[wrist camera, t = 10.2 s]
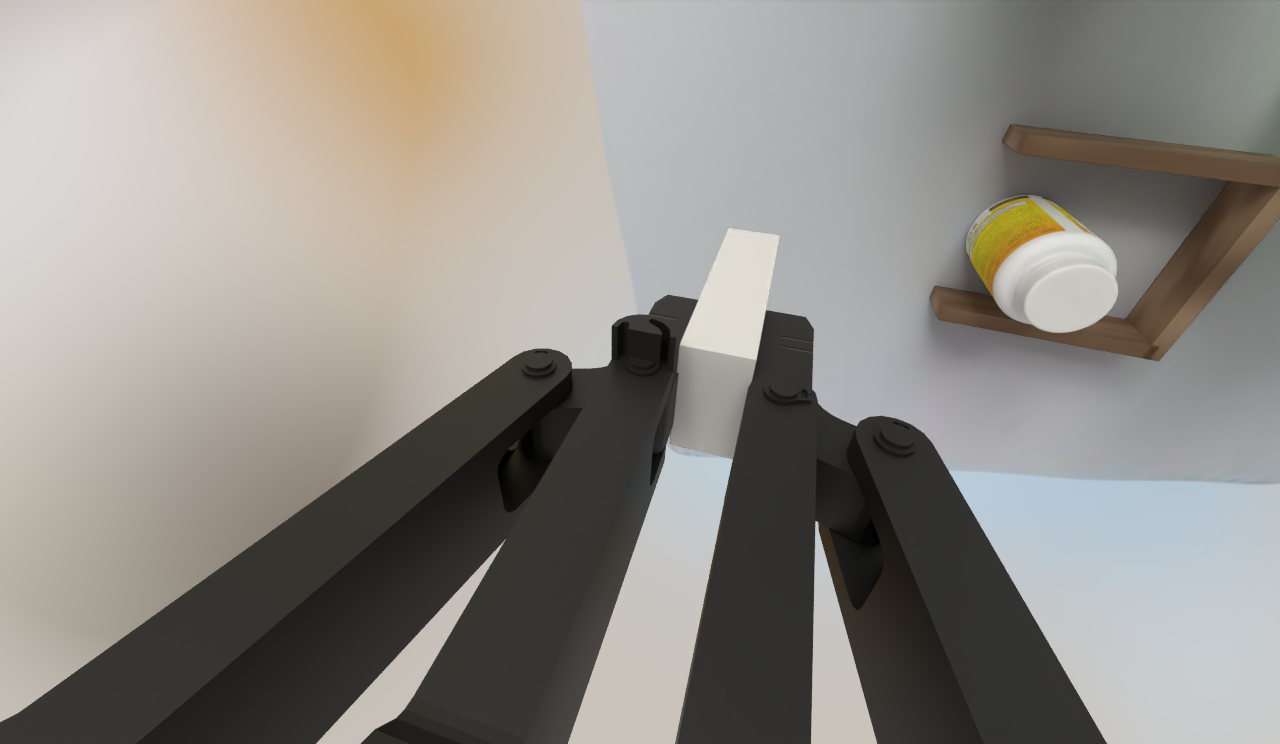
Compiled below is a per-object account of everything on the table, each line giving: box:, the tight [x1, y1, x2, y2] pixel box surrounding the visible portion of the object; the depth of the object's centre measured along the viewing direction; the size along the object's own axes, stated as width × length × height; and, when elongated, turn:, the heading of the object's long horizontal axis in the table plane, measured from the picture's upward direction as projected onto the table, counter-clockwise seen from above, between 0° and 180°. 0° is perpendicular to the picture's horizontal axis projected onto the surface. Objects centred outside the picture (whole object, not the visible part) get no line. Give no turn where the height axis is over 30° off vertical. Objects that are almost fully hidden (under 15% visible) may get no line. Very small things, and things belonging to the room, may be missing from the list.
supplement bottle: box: [966, 195, 1118, 333], centre depth 30 cm, size 6×6×10 cm
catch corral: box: [930, 124, 1280, 361], centre depth 32 cm, size 12×14×4 cm
